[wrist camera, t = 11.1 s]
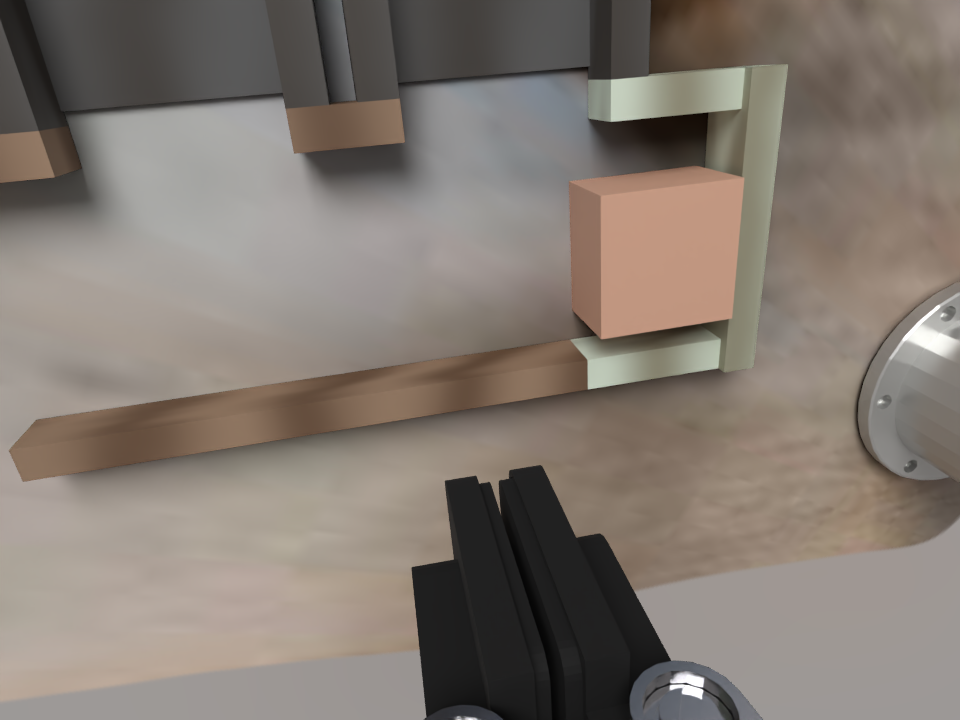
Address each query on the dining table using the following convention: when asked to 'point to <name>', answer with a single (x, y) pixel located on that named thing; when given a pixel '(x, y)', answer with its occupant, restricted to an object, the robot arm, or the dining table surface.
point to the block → (654, 249)
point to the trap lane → (364, 122)
